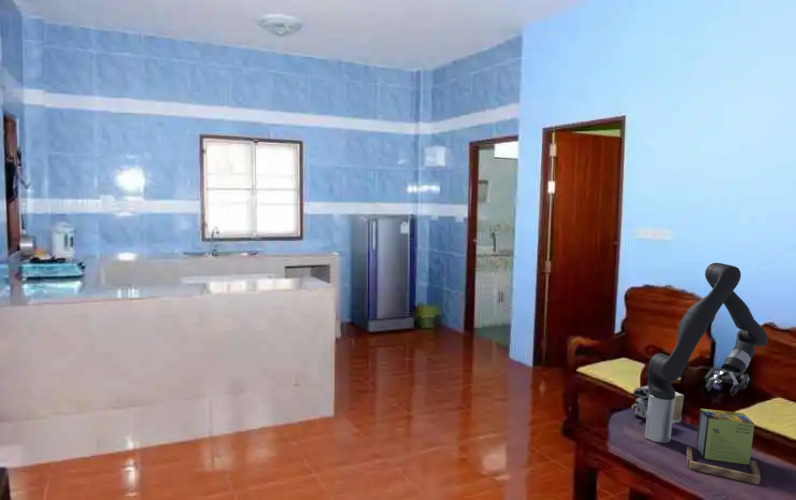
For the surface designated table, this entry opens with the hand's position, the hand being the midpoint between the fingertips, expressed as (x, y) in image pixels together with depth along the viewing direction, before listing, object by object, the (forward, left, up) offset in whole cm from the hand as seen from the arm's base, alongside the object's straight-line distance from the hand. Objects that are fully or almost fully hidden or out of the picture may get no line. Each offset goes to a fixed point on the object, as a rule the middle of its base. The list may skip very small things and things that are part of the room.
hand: (719, 391), depth 216 cm
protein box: (+3, -4, -23) cm, 24 cm away
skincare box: (-14, +24, -23) cm, 36 cm away
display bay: (+2, -16, -23) cm, 28 cm away
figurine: (-25, +16, -23) cm, 38 cm away
